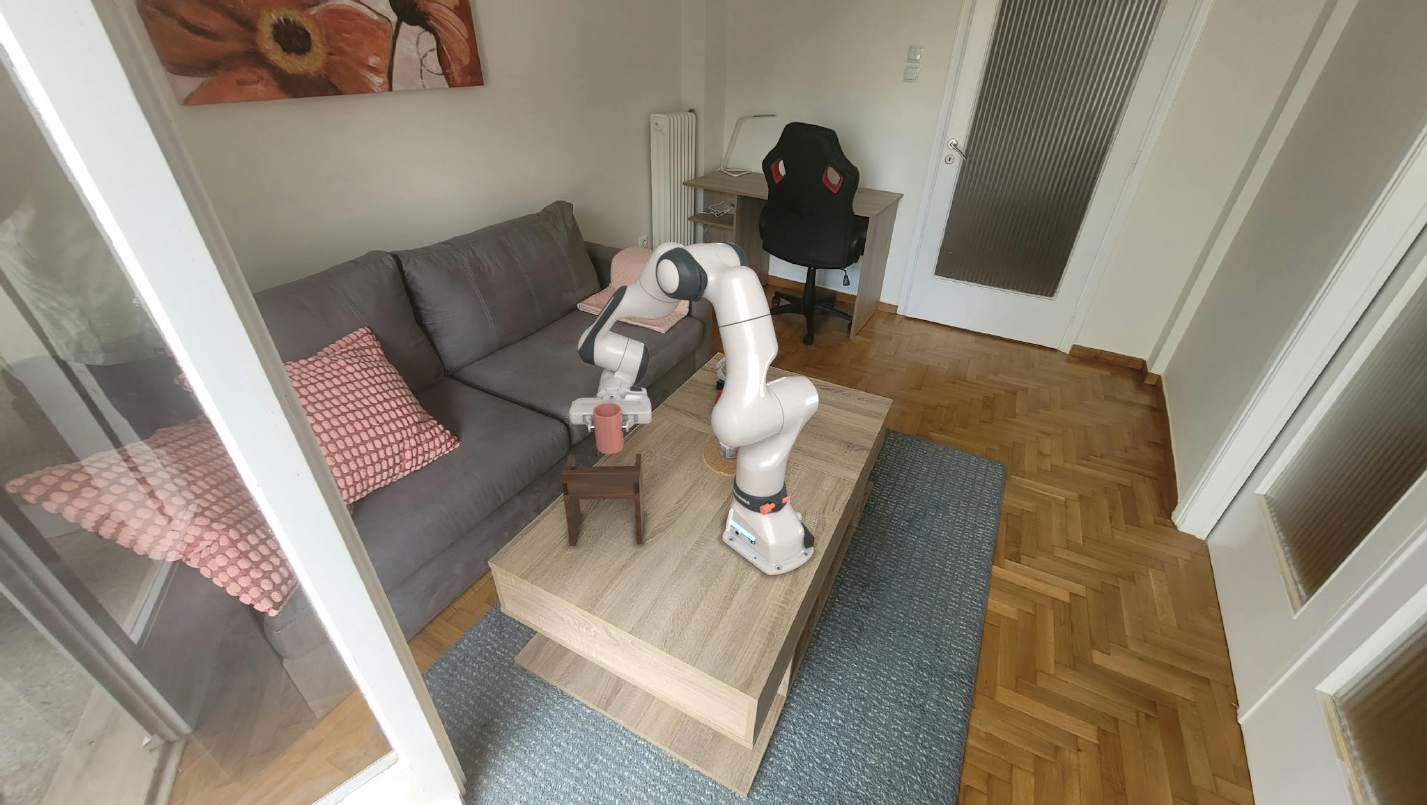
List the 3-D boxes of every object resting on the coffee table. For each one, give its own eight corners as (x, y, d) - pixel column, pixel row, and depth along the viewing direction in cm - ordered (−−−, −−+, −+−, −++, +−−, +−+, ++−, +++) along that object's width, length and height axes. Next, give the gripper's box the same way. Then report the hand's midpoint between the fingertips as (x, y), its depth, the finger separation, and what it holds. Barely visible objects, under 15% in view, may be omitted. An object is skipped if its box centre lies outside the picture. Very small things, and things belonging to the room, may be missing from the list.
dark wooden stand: (576, 515, 143) (567, 445, 131) (644, 514, 144) (640, 444, 132) (570, 545, 134) (560, 473, 123) (642, 544, 135) (638, 472, 124)
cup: (628, 448, 143) (626, 412, 137) (603, 457, 139) (600, 420, 134) (616, 435, 147) (614, 399, 142) (592, 443, 144) (588, 407, 138)
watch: (720, 380, 200) (721, 352, 195) (740, 388, 197) (742, 359, 191) (711, 387, 196) (712, 358, 191) (731, 395, 193) (733, 365, 187)
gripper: (571, 388, 149) (563, 418, 137) (652, 388, 150) (650, 418, 139) (574, 409, 152) (565, 440, 141) (653, 409, 154) (651, 439, 142)
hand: (608, 429), depth 140 cm, fingers closed on cup, 7 cm apart
